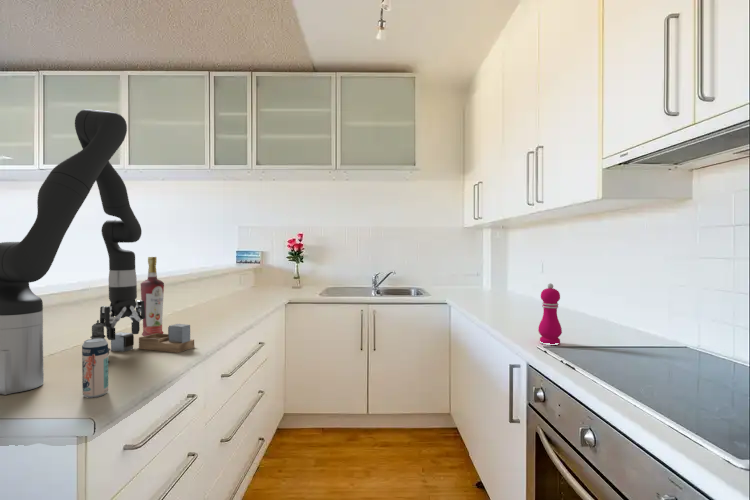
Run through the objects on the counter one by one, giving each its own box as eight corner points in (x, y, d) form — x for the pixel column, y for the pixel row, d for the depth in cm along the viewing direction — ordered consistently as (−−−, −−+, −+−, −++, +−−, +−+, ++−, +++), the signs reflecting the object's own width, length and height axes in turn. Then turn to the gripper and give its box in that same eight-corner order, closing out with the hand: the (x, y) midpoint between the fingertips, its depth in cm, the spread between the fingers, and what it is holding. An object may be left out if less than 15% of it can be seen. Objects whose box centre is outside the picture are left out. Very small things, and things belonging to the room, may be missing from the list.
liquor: (148, 340, 150) (148, 257, 150) (136, 338, 154) (135, 257, 153) (168, 336, 156) (168, 256, 156) (156, 334, 160) (155, 256, 160)
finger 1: (124, 352, 135) (124, 335, 135) (111, 350, 137) (110, 334, 136) (134, 349, 138) (134, 333, 138) (120, 348, 140) (120, 332, 140)
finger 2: (182, 343, 135) (182, 326, 135) (167, 341, 137) (167, 325, 137) (190, 340, 139) (190, 324, 139) (176, 339, 140) (175, 323, 140)
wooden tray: (177, 352, 134) (177, 341, 134) (138, 348, 139) (138, 337, 138) (194, 347, 140) (194, 336, 140) (156, 343, 145) (156, 333, 145)
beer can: (80, 394, 97) (79, 340, 97) (105, 389, 100) (104, 336, 100) (85, 400, 94) (84, 343, 93) (111, 395, 97) (110, 340, 97)
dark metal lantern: (98, 367, 118) (98, 322, 118) (80, 365, 120) (79, 321, 119) (115, 361, 124) (115, 318, 124) (97, 360, 125) (97, 317, 125)
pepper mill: (533, 342, 150) (534, 282, 149) (551, 340, 152) (552, 282, 151) (548, 347, 143) (548, 284, 142) (566, 345, 145) (567, 284, 145)
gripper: (111, 287, 129) (112, 343, 130) (150, 282, 143) (151, 332, 143) (92, 286, 132) (93, 341, 132) (132, 281, 145) (133, 331, 146)
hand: (123, 336), depth 138 cm, fingers open, 8 cm apart
